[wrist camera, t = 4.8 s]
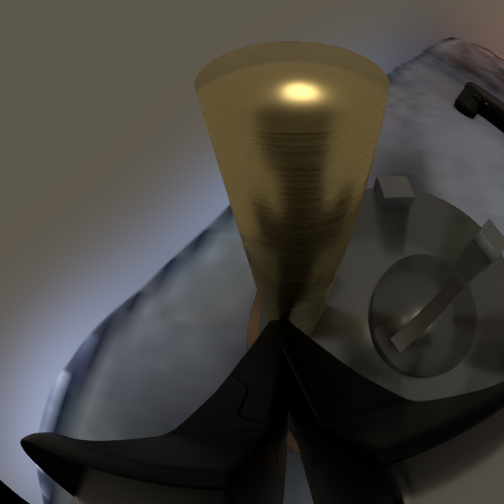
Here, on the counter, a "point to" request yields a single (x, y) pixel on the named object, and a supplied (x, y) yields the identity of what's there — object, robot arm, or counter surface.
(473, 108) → the door handle
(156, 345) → the counter surface
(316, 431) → the robot arm
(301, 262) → the ring nut
